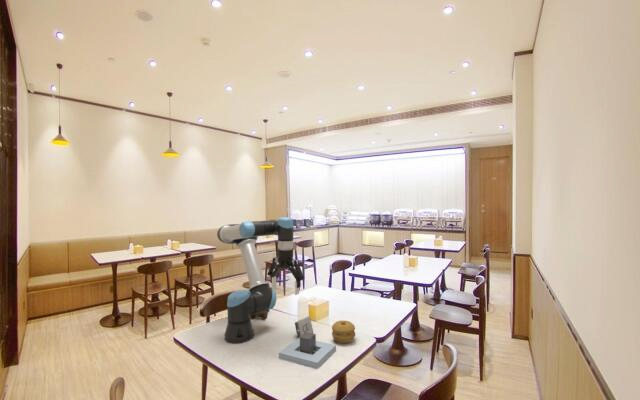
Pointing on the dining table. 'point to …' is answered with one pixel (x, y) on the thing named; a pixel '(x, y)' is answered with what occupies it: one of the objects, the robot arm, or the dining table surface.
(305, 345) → the plug
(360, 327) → the dining table surface
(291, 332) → the dining table surface
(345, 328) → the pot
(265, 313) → the kendama
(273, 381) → the dining table surface
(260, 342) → the dining table surface
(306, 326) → the electrical switch
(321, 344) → the socket plate
